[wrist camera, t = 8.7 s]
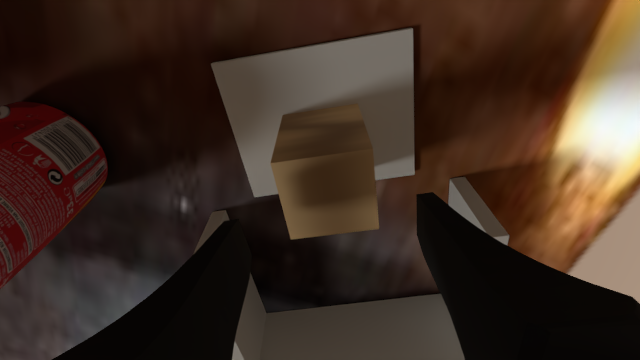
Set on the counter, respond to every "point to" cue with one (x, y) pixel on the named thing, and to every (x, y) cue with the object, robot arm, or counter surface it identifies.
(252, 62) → the grey mat
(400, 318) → the open box
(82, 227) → the counter surface
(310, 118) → the wooden block
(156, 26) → the counter surface
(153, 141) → the counter surface
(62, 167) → the soda can
